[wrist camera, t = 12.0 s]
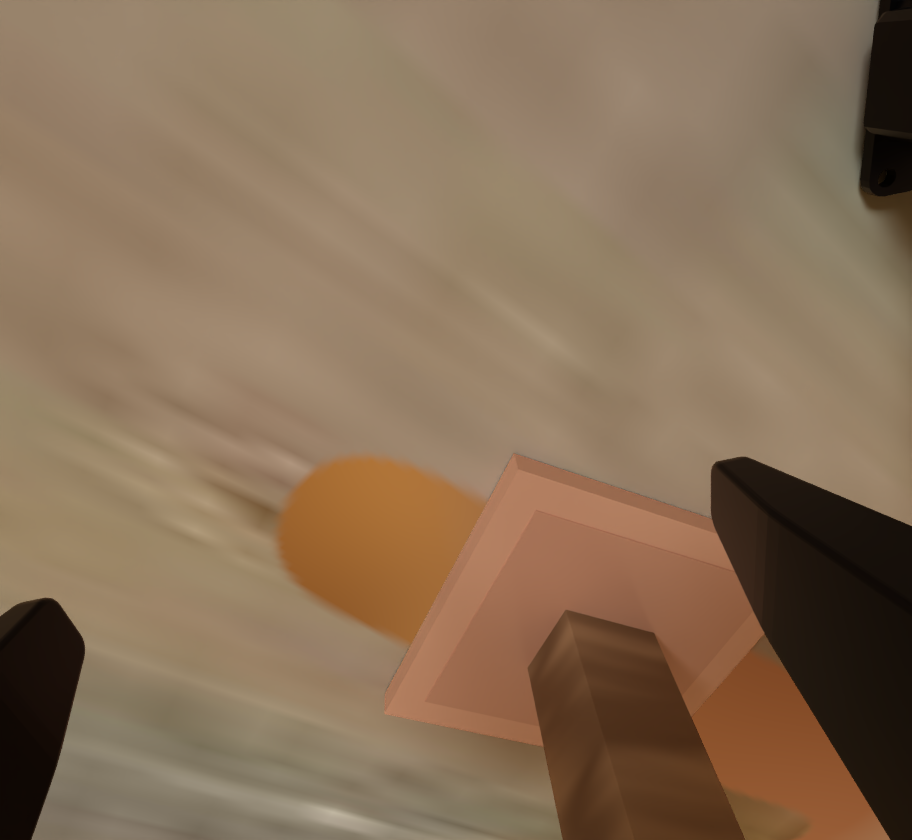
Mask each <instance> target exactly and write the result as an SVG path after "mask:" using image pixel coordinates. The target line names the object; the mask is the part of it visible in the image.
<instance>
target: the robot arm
mask: <svg viewBox="0 0 912 840" xmlns="http://www.w3.org/2000/svg"><path fill="white" fill-rule="evenodd" d="M864 126H865V127H866V134H865V143H864V151H863V160H862V169H861V178H860V181H861V187H862V189H863V190H864V191H865V192H867V193H869V194H872V195H875V196H888V195H892V194H897V193H902V192H907V191H911V190H912V0H880V9H879V18H878V21H877V23H876V24H875V27H874V35H873V44H872V53H871V62H870V71H869V80H868V89H867V98H866V108H865V117H864ZM884 170H886V171H887V175H886V178H885V179H884V181H883V182H882V183H880V184H878V178H879V175H880V174H881V173H882V172H883V171H884ZM711 516H712V521H713V524H714V527H715V530H716V532H717V534H718V536H719V539H720V541H721V543H722V545H723V547H724V549H725V552H726V554H727V556H728V558H729V560H730V562H731V564H732V567H733V569H734V571H735V573H736V575H737V577H738V580H739V582H740V584H741V586H742V588H743V590H744V592H745V595H746V597H747V599H748V601H749V603H750V605H751V608H752V610H753V612H754V614H755V616H756V618H757V620H758V622H759V624H760V626H761V628H762V630H763V632H764V633H765V635H766V637H767V638H768V640H769V642H770V644H771V645H772V647H773V649H774V650H775V652H776V654H777V655H778V657H779V658H780V660H781V662H782V663H783V665H784V667H785V668H786V670H787V672H788V673H789V675H790V676H791V678H792V680H793V681H794V683H795V685H796V686H797V688H798V689H799V691H800V693H801V694H802V696H803V698H804V699H805V701H806V702H807V704H808V705H809V707H810V709H811V711H812V712H813V714H814V716H815V717H816V719H817V720H818V722H819V724H820V725H821V727H822V729H823V730H824V732H825V734H826V735H827V737H828V738H829V740H830V742H831V743H832V745H833V747H834V748H835V750H836V751H837V753H838V755H839V756H840V758H841V760H842V761H843V763H844V765H845V766H846V768H847V769H848V771H849V772H850V774H851V776H852V778H853V779H854V781H855V782H856V784H857V786H858V787H859V789H860V791H861V792H862V794H863V796H864V797H865V799H866V800H867V802H868V804H869V805H870V807H871V808H872V810H873V812H874V813H875V815H876V817H877V818H878V820H879V822H880V823H881V825H882V827H883V828H884V830H885V831H886V833H887V835H888V836H889V838H890V840H912V526H910V525H908V524H905V523H903V522H901V521H898V520H896V519H894V518H891V517H889V516H886V515H884V514H882V513H879V512H877V511H875V510H872V509H870V508H867V507H865V506H863V505H860V504H858V503H855V502H853V501H851V500H848V499H846V498H844V497H841V496H839V495H836V494H834V493H832V492H829V491H827V490H825V489H822V488H820V487H817V486H815V485H813V484H810V483H808V482H805V481H803V480H801V479H798V478H796V477H794V476H791V475H789V474H786V473H784V472H782V471H779V470H777V469H775V468H772V467H770V466H767V465H765V464H763V463H760V462H758V461H756V460H753V459H751V458H748V457H736V458H732V459H727V460H722V461H718V462H716V463H715V464H714V465H713V466H712V470H711ZM84 656H85V645H84V641H83V638H82V636H81V634H80V633H79V631H78V630H77V629H76V627H75V626H74V624H73V623H72V621H71V620H70V619H69V617H68V616H67V614H66V613H65V611H64V610H63V608H62V607H61V606H60V604H59V603H58V602H57V601H55V600H54V599H52V598H41V599H36V600H31V601H26V602H22V603H19V604H17V605H15V606H14V607H12V608H11V609H10V610H8V611H7V612H5V613H4V614H3V615H1V616H0V840H31V839H32V836H33V833H34V831H35V828H36V825H37V822H38V819H39V816H40V814H41V811H42V808H43V805H44V802H45V799H46V796H47V794H48V791H49V788H50V785H51V782H52V779H53V776H54V773H55V770H56V767H57V763H58V760H59V756H60V753H61V749H62V745H63V741H64V737H65V733H66V729H67V725H68V721H69V717H70V713H71V709H72V705H73V701H74V697H75V693H76V689H77V685H78V681H79V677H80V672H81V668H82V664H83V660H84Z"/></svg>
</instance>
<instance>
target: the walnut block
mask: <svg viewBox="0 0 912 840" xmlns="http://www.w3.org/2000/svg"><path fill="white" fill-rule="evenodd" d="M528 673H529V678H530V683H531V688H532V692H533V697H534V702H535V707H536V712H537V717H538V721H539V726H540V731H541V736H542V741H543V746H544V751H545V755H546V760H547V765H548V770H549V775H550V780H551V784H552V789H553V794H554V799H555V804H556V809H557V814H558V818H559V823H560V828H561V833H562V838H563V840H745V838H744V836H743V833H742V831H741V829H740V827H739V824H738V822H737V820H736V818H735V815H734V813H733V811H732V808H731V806H730V804H729V802H728V799H727V797H726V795H725V793H724V790H723V788H722V786H721V784H720V781H719V779H718V777H717V774H716V773H715V770H714V768H713V766H712V763H711V761H710V759H709V756H708V754H707V752H706V750H705V747H704V745H703V743H702V740H701V738H700V736H699V734H698V732H697V729H696V727H695V725H694V723H693V720H692V718H691V716H690V713H689V711H688V709H687V706H686V704H685V702H684V700H683V697H682V695H681V693H680V691H679V688H678V686H677V684H676V682H675V679H674V677H673V675H672V672H671V670H670V668H669V666H668V663H667V661H666V659H665V657H664V654H663V652H662V650H661V648H660V645H659V643H658V641H657V638H656V636H655V634H654V633H653V632H649V631H645V630H641V629H638V628H634V627H630V626H626V625H622V624H619V623H615V622H611V621H607V620H604V619H600V618H596V617H592V616H589V615H585V614H581V613H577V612H573V611H570V610H565V611H564V613H563V614H562V616H561V618H560V619H559V621H558V622H557V624H556V625H555V627H554V628H553V630H552V631H551V633H550V634H549V636H548V637H547V639H546V640H545V642H544V643H543V645H542V646H541V648H540V649H539V651H538V653H537V654H536V656H535V657H534V659H533V660H532V662H531V663H530V665H529V666H528Z"/></svg>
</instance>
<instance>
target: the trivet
mask: <svg viewBox="0 0 912 840" xmlns="http://www.w3.org/2000/svg"><path fill="white" fill-rule="evenodd" d="M565 610H570V611H573V612H577V613H581V614H585V615H589V616H592V617H596V618H600V619H604V620H607V621H611V622H615V623H619V624H622V625H626V626H630V627H634V628H638V629H641V630H645V631H649V632H653V633H654V634H655V636H656V638H657V641H658V643H659V645H660V648H661V650H662V652H663V654H664V657H665V659H666V661H667V663H668V666H669V668H670V670H671V672H672V675H673V677H674V679H675V682H676V684H677V686H678V688H679V691H680V693H681V695H682V697H683V700H684V702H685V704H686V706H687V709H688V711H689V713H690V716H691V717H692V716H693V715H694V714H695V713H696V712H697V710H698V709H699V708H700V707H701V706H702V705H703V704H704V702H705V701H706V700H707V699H708V698H709V697H710V696H711V694H712V693H713V692H714V691H715V690H716V688H718V686H719V685H720V684H721V683H722V682H723V681H724V679H725V678H726V677H727V676H728V675H729V674H730V673H731V671H732V670H733V669H734V668H735V667H736V666H737V664H738V663H739V662H740V661H741V660H742V659H743V658H744V656H745V655H746V654H747V653H748V652H749V651H750V650H751V649H752V647H753V646H754V645H755V644H756V643H757V642H758V640H759V639H760V638H761V637H762V636H763V635H764V634H765V633H764V632H763V630H762V628H761V626H760V624H759V622H758V620H757V618H756V616H755V614H754V612H753V610H752V608H751V605H750V603H749V601H748V599H747V597H746V595H745V592H744V590H743V588H742V586H741V584H740V582H739V580H738V577H737V575H736V573H735V571H734V569H733V567H732V564H731V562H730V560H729V558H728V556H727V554H726V552H725V549H724V547H723V545H722V543H721V541H720V539H719V536H718V534H717V532H716V530H715V527H714V524H713V521H712V519H710V518H707V517H704V516H701V515H698V514H695V513H692V512H689V511H686V510H683V509H680V508H677V507H674V506H671V505H668V504H665V503H662V502H659V501H656V500H653V499H650V498H647V497H644V496H641V495H638V494H635V493H632V492H629V491H626V490H623V489H620V488H617V487H614V486H611V485H608V484H605V483H602V482H599V481H596V480H593V479H590V478H586V477H583V476H580V475H577V474H574V473H571V472H568V471H565V470H562V469H559V468H556V467H553V466H550V465H547V464H544V463H541V462H538V461H535V460H532V459H529V458H526V457H523V456H520V455H517V454H513V456H512V458H511V460H510V461H509V463H508V465H507V467H506V469H505V471H504V473H503V474H502V476H501V478H500V480H499V482H498V484H497V486H496V488H495V489H494V491H493V493H492V495H491V497H490V499H489V501H488V502H487V504H486V506H485V508H484V510H483V512H482V514H481V516H480V517H479V519H478V521H477V523H476V525H475V527H474V529H473V530H472V532H471V534H470V536H469V538H468V540H467V542H466V543H465V545H464V547H463V549H462V551H461V553H460V555H459V557H458V559H457V560H456V562H455V564H454V566H453V568H452V570H451V571H450V573H449V575H448V577H447V579H446V581H445V583H444V584H443V586H442V588H441V590H440V592H439V594H438V596H437V598H436V599H435V601H434V603H433V605H432V607H431V609H430V611H429V612H428V614H427V616H426V618H425V620H424V622H423V624H422V626H421V627H420V629H419V631H418V633H417V635H416V637H415V639H414V640H413V642H412V644H411V646H410V648H409V650H408V652H407V653H406V655H405V657H404V659H403V661H402V663H401V665H400V667H399V668H398V670H397V672H396V674H395V676H394V678H393V680H392V681H391V683H390V685H389V687H388V689H387V691H386V693H385V714H388V715H393V716H397V717H402V718H407V719H412V720H417V721H421V722H426V723H431V724H436V725H441V726H446V727H450V728H455V729H460V730H465V731H470V732H474V733H479V734H484V735H489V736H494V737H499V738H503V739H508V740H513V741H518V742H523V743H527V744H532V745H537V746H542V747H544V746H543V741H542V736H541V731H540V726H539V721H538V717H537V712H536V707H535V702H534V697H533V692H532V688H531V683H530V678H529V673H528V666H529V665H530V663H531V662H532V660H533V659H534V657H535V656H536V654H537V653H538V651H539V649H540V648H541V646H542V645H543V643H544V642H545V640H546V639H547V637H548V636H549V634H550V633H551V631H552V630H553V628H554V627H555V625H556V624H557V622H558V621H559V619H560V618H561V616H562V614H563V613H564V611H565Z"/></svg>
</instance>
